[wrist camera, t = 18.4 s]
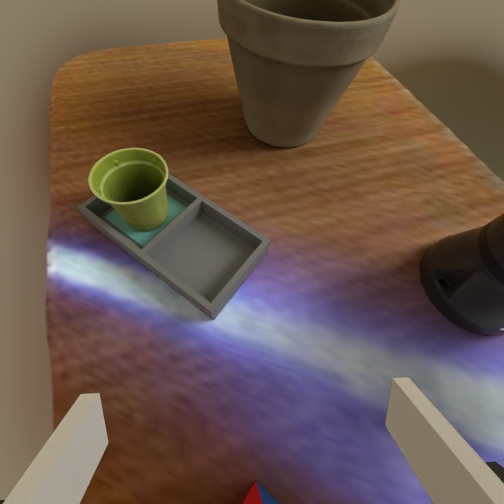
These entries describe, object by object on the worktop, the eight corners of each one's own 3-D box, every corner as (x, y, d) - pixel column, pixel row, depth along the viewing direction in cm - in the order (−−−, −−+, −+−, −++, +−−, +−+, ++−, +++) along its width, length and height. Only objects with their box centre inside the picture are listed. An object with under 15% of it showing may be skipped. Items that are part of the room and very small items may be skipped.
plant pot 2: (277, 73, 63) (297, -67, 43) (364, 126, 56) (434, -12, 36) (195, 119, 53) (175, -34, 34) (288, 189, 46) (328, 48, 27)
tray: (149, 174, 46) (142, 156, 42) (267, 253, 40) (270, 240, 37) (88, 222, 41) (74, 206, 37) (213, 320, 35) (211, 312, 31)
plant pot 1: (110, 200, 41) (82, 157, 34) (170, 184, 44) (156, 140, 36) (123, 250, 37) (95, 213, 30) (187, 229, 40) (177, 190, 32)
